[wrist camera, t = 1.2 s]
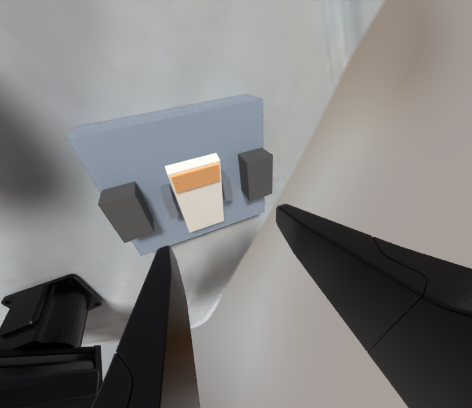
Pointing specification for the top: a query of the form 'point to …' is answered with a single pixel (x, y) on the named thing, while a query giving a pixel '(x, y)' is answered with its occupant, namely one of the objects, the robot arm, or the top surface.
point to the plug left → (127, 211)
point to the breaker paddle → (198, 190)
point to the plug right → (256, 173)
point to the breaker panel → (174, 158)
